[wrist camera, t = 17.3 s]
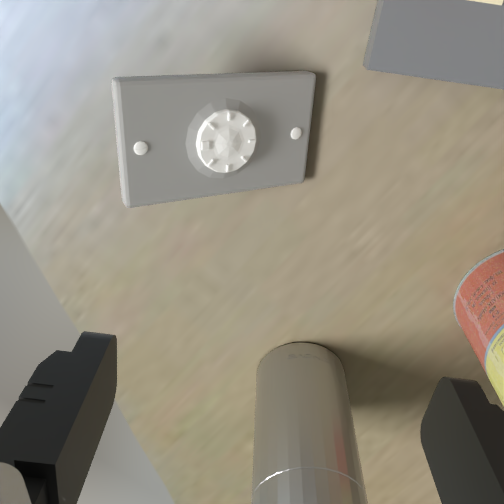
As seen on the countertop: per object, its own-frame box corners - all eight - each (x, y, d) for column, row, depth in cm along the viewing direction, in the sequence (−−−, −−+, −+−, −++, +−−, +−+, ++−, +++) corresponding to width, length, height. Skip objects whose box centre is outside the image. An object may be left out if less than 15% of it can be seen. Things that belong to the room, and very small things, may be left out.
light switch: (311, 187, 38) (129, 215, 32) (275, 163, 43) (110, 183, 37) (324, 75, 34) (118, 83, 28) (283, 61, 38) (97, 65, 32)
